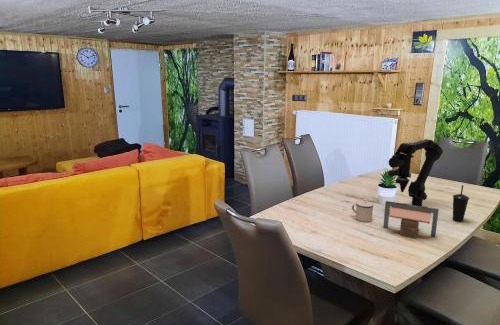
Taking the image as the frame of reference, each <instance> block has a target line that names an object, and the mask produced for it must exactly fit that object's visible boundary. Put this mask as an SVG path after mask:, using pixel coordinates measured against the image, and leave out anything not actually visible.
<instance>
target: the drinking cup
mask: <svg viewBox="0 0 500 325" xmlns="http://www.w3.org/2000/svg"><path fill="white" fill-rule="evenodd" d="M460 189H461V190H460V193H456V194H453V195H452V221H453V222H456V223H463V222H464V219H465V214H466V210H467V206H468V202H469V200H470V197H469V196H467V195H466V194H463V192H464V185H463V184H462V185H461V188H460Z"/></svg>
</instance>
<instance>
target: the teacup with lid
mask: <svg viewBox="0 0 500 325" xmlns="http://www.w3.org/2000/svg"><path fill="white" fill-rule="evenodd" d="M351 205H352V206H351V210H352V211H353V213H355V219H356V220H357V221H358V222H363V223H369V222H371V221H372V220H373V211H374V209H373V208H374V203H373V202H372V201H368V198H363V199H362V200H358V201H357V202H356V203H354V204H351ZM355 206H356V207H355ZM355 208H356V209H355Z"/></svg>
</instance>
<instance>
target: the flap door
mask: <svg viewBox="0 0 500 325" xmlns="http://www.w3.org/2000/svg"><path fill="white" fill-rule="evenodd" d="M431 215H432V213H430V212H424V211H417V210H411V209H405V208H399V207H392V206H390V211H389V218H395V219H400V220H402V219H406V220H411V221H417V222H419V223H423V224H430V222H431Z"/></svg>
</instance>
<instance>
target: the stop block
mask: <svg viewBox="0 0 500 325" xmlns="http://www.w3.org/2000/svg"><path fill="white" fill-rule="evenodd" d="M419 226H420V222H417V221H411V220H406V219H400V230H399V236H401V237H406V238H409V239H416V237H417V234H418V231H419Z"/></svg>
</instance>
